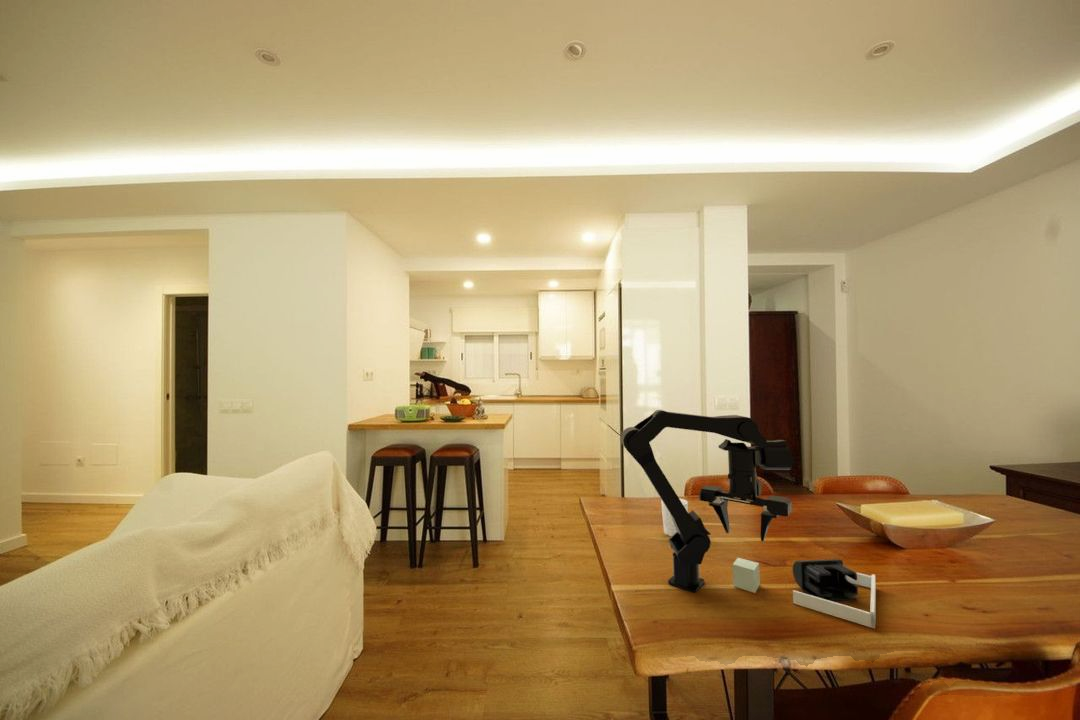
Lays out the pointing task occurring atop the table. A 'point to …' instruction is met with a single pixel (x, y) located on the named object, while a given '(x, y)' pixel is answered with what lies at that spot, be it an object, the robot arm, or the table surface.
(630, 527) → the table surface
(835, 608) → the white u-shaped frame
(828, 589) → the end cap
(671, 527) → the white cup
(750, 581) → the block
